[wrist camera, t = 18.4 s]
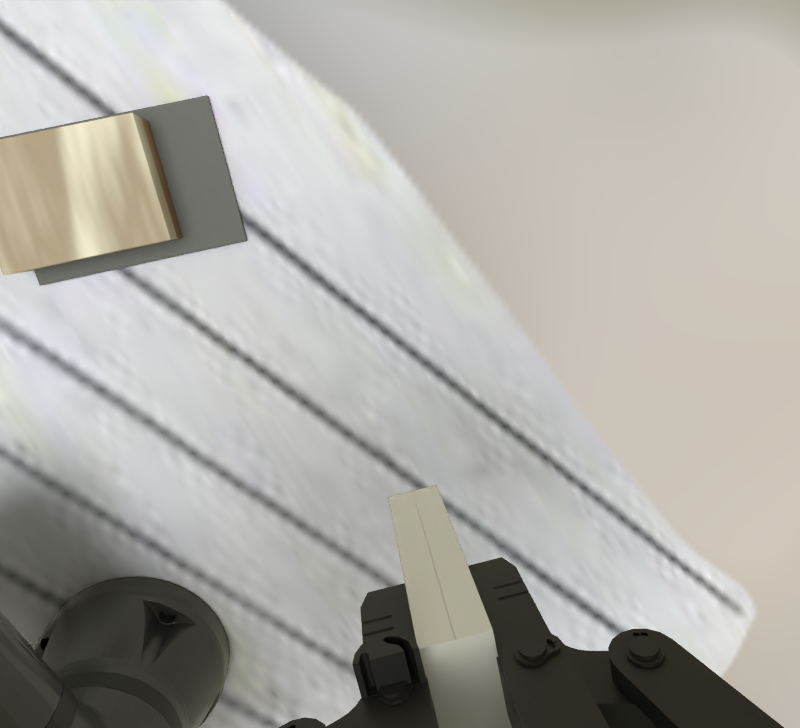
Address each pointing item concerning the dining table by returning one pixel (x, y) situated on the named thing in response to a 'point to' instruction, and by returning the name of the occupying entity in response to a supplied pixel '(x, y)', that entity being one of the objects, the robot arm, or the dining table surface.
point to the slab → (82, 193)
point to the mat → (176, 189)
